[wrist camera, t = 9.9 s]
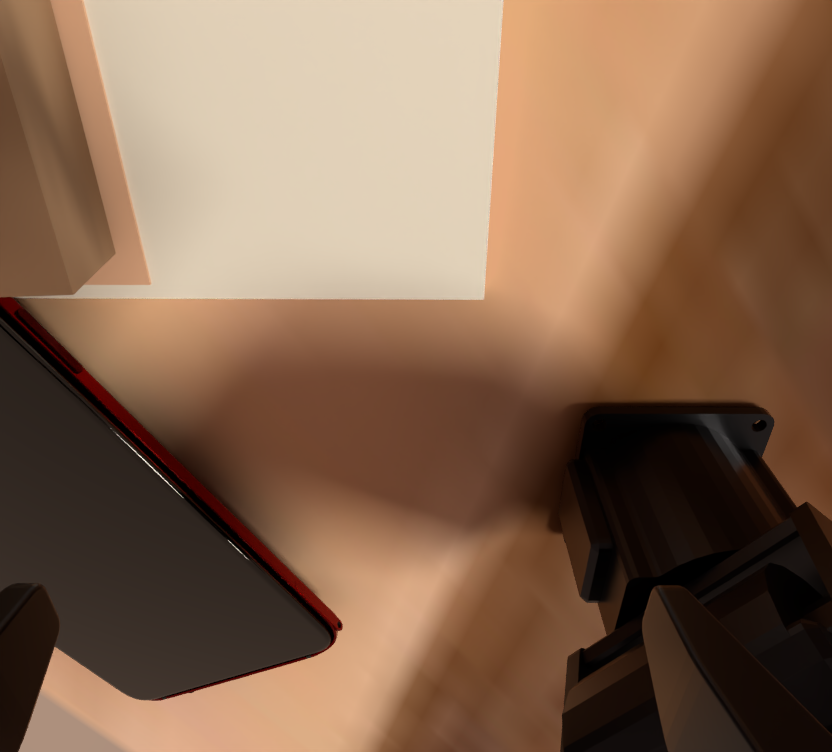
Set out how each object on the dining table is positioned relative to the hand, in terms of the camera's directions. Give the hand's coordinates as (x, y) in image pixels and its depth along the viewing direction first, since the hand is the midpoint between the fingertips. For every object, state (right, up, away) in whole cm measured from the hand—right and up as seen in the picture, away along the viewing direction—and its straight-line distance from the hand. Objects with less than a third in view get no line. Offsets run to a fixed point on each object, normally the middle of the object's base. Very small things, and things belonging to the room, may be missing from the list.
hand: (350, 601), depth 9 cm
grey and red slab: (-13, 0, +14) cm, 19 cm away
